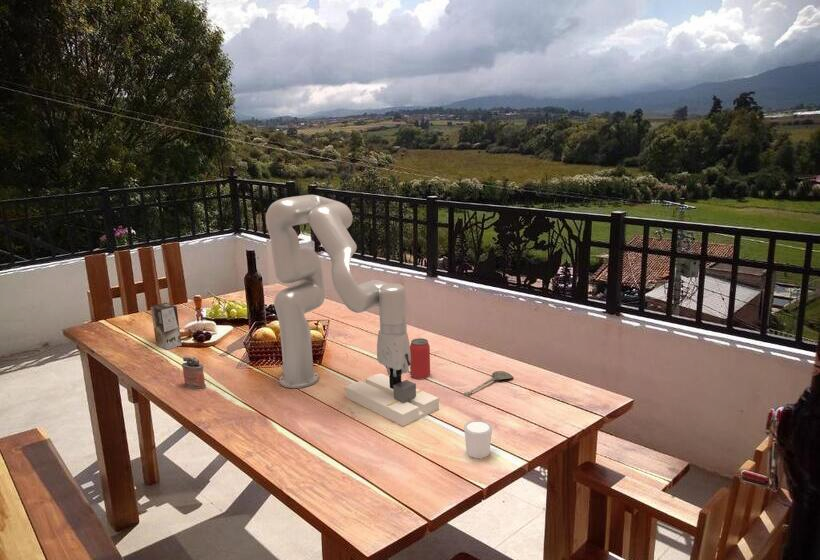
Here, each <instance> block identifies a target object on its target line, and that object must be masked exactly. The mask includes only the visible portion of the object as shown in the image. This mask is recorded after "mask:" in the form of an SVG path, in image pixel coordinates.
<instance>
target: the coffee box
mask: <svg viewBox="0 0 820 560" xmlns="http://www.w3.org/2000/svg"><path fill="white" fill-rule="evenodd" d="M177 307H178V306H176V305H174V304H171V303H168V302H163V303H160V304H155V305H152V306H150V311H151V318H152V319H151V320H152V324H153V331H154V337H155V338H154V339H155V344H156V346H157V345H158V347H160V348H162V349H165V350H167V351H168V350H170V349H174V348H177V346H178V347H181V346H182V345H183V344H182V336H181V331H180V324H179V314H178V308H177Z"/></svg>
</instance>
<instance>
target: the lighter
mask: <svg viewBox="0 0 820 560" xmlns="http://www.w3.org/2000/svg"><path fill="white" fill-rule="evenodd" d="M182 360H183V363H182V364H181V368H182V371H183V378H184V384H183V385H184V388H187V389H191V388H192V390H197V389H202V390H204V388H205V389H206V388H207V385H206V383H205V382H206V381H205V374H204V364H201V363H200V359H198V358H196V357H195V356H193V357H191V356H183V357H182Z"/></svg>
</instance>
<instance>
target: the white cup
mask: <svg viewBox="0 0 820 560" xmlns="http://www.w3.org/2000/svg"><path fill="white" fill-rule="evenodd" d="M463 430H464V431H463V432H464V439H465V440H464V441H465V448H466V454H467V456H468V455H469V457H470V456H471V458H472V457H474V458H473V459H477V458H481V459H484V458H483V457H485V458H487V457H489V455H490V450H491V444H492V443H491V440H492V432H493V427H492V425H491V423H489V422H487V421H484V420H470V421H468V422H466V423H465V424H464V427H463ZM486 456H487V457H486Z"/></svg>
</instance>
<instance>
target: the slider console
mask: <svg viewBox="0 0 820 560" xmlns="http://www.w3.org/2000/svg"><path fill="white" fill-rule="evenodd" d="M344 393H345V395H344V396H345V398H347V399H348V400H350V401H352V402H354V403H356V404H358V405H360V406H361V407H364V408H366V409H368V410H370V411H372V412H373V413H374V412H375V413H376V414H378V415H380V416H382V417H384V418H386V419H388V420H390V421H392V422H393V423H396V424H397V425H400V426H401V427H404V426H407V425H409V424H411V423H412V422H415V421H417V420H419V419H421V418H423V417H425V416H428V415H430V414H432V413H433V412H435V411H438V410H440V399H439V397H438V396H435V395H433V394H431V393H428V392H426V391H424V390H421V389H419V388H417V387H416V397H414V398H412V399H410V400H408V402H406V401H405V402H401V401H399V400H397V399H395V398H394V389H391V388H390V381H389V376H388V375H386V374H383V373H381V372H380V373H377V374H374V375H372V376H369V377H366V378H364V381H362V380H359V381H355V382H353V383H350V384H348V385H345V386H344Z"/></svg>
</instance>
